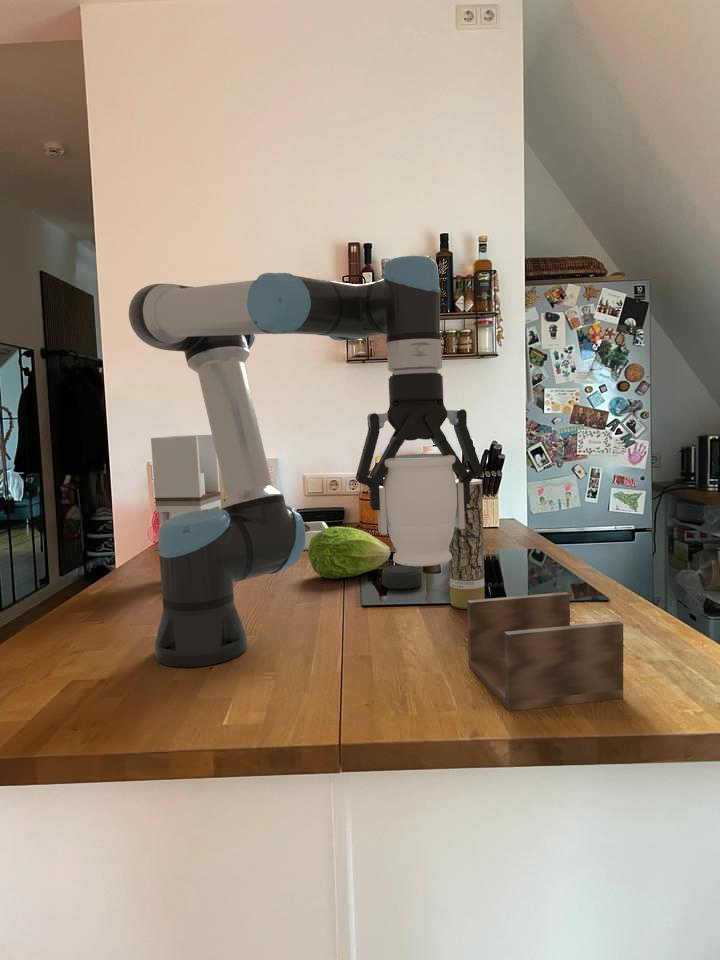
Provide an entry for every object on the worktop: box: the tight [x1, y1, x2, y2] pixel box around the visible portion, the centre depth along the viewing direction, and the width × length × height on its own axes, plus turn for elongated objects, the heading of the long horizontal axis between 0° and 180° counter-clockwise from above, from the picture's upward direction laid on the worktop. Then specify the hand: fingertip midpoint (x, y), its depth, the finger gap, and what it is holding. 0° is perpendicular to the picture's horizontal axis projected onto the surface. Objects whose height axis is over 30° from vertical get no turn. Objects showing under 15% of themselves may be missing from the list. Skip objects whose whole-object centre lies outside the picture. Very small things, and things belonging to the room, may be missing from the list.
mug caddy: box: [303, 520, 329, 551], centre depth 207 cm, size 16×18×5 cm
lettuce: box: [307, 526, 391, 580], centre depth 166 cm, size 13×22×14 cm
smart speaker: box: [381, 564, 423, 590], centre depth 154 cm, size 9×9×4 cm
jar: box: [382, 453, 457, 567], centre depth 97 cm, size 11×10×15 cm
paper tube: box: [448, 478, 486, 610], centre depth 135 cm, size 7×7×25 cm
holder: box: [466, 591, 624, 712], centre depth 98 cm, size 16×16×10 cm
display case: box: [150, 434, 222, 588], centre depth 163 cm, size 11×11×35 cm
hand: (421, 530), depth 97 cm, fingers closed on jar, 10 cm apart
